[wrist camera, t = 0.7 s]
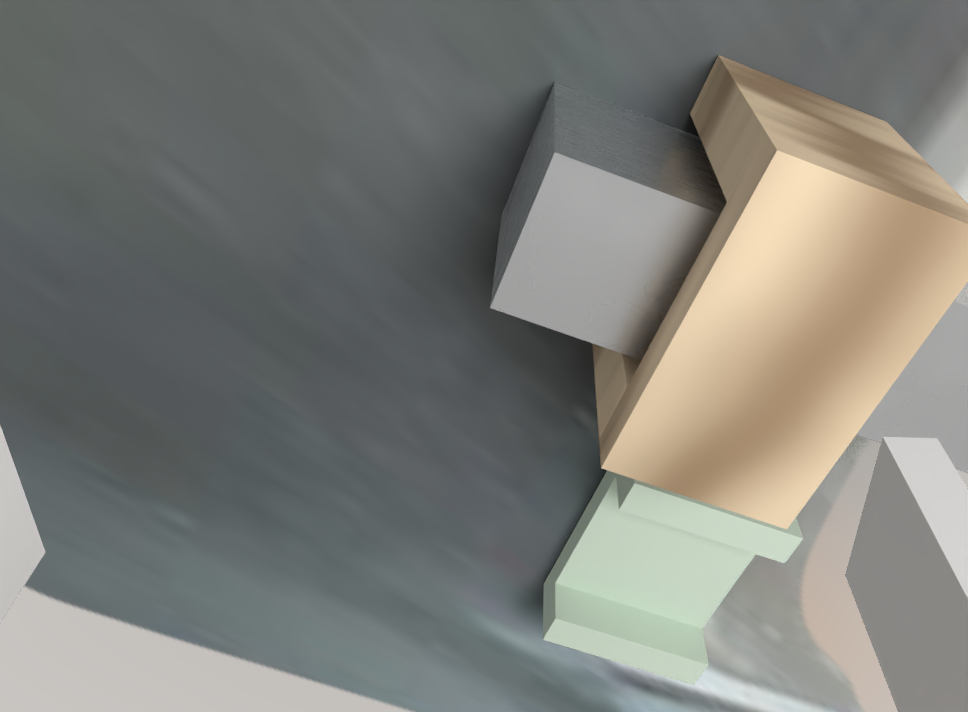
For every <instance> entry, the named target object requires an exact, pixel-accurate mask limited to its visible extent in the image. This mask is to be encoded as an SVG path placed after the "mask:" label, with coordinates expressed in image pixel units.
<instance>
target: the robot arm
mask: <svg viewBox="0 0 968 712" xmlns="http://www.w3.org/2000/svg"><path fill="white" fill-rule="evenodd" d="M44 554H45V549H44V547H43V544H42V541H41V538H40V535H39V533H38V530H37V527H36V524H35V521H34V519H33V516H32V513H31V510H30V507H29V504H28V502H27V499H26V496H25V493H24V490H23V488H22V485H21V482H20V479H19V476H18V474H17V471H16V468H15V465H14V462H13V460H12V457H11V454H10V451H9V448H8V445H7V443H6V440H5V437H4V434H3V431H2V429H1V426H0V623H1V621H2V620H3V618H4V617H5V615H6V613H7V611H8V610H9V609H10V607H11V606H12V604H13V602H14V601H15V599H16V598H17V596H18V595H19V593H20V591H21V590H22V588H23V587H24V585H25V584H26V582H27V581H28V579H29V577H30V576H31V574H32V573H33V571H34V570H35V568H36V566H37V565H38V563H39V562H40V560H41V559H42V557H43V555H44ZM845 575H846V578H847V580H848V583H849V586H850V588H851V591H852V594H853V596H854V598H855V601H856V604H857V606H858V609H859V612H860V614H861V617H862V619H863V622H864V624H865V627H866V630H867V632H868V635H869V638H870V640H871V643H872V645H873V648H874V650H875V653H876V655H877V658H878V660H879V663H880V666H881V668H882V671H883V673H884V676H885V679H886V681H887V684H888V687H889V689H890V692H891V695H892V697H893V700H894V702H895V705H896V707H897V710H898V712H968V488H967V487H966V485H965V483H964V482H963V480H962V478H961V477H960V475H959V473H958V472H957V470H956V468H955V467H954V465H953V463H952V462H951V460H950V458H949V457H948V455H947V453H946V452H945V450H944V449H943V447H942V445H941V444H940V442H939V440H938V439H937V438H912V437H883V438H882V442H881V446H880V450H879V453H878V457H877V460H876V464H875V468H874V471H873V475H872V479H871V482H870V486H869V490H868V493H867V497H866V501H865V505H864V508H863V512H862V516H861V519H860V523H859V527H858V530H857V534H856V538H855V541H854V545H853V549H852V553H851V556H850V560H849V563H848V567H847V571H846V574H845Z"/></svg>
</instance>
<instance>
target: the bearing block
mask: <svg viewBox="0 0 968 712" xmlns="http://www.w3.org/2000/svg"><path fill="white" fill-rule="evenodd" d="M690 115H691V117H692V120H693V122H694V124H695V127H696V129H697V132H698V134H699V136H700V139H701V141H702V144H703V146H704V148H705V151H706V153H707V156H708V158H709V160H710V163H711V165H712V167H713V170H714V172H715V175H716V177H717V179H718V182H719V184H720V187H721V189H722V191H723V194H724V196H725V199H726V201H727V203H726V205H725V207H724V209H723V211H722V213H721V214H720V216H719V218H718V220H717V222H716V224H715V226H714V227H713V229H712V231H711V233H710V235H709V237H708V239H707V240H706V242H705V244H704V246H703V248H702V250H701V251H700V253H699V255H698V257H697V259H696V261H695V263H694V264H693V266H692V268H691V270H690V272H689V274H688V276H687V277H686V279H685V281H684V283H683V285H682V287H681V288H680V290H679V292H678V294H677V296H676V298H675V300H674V301H673V303H672V305H671V307H670V309H669V311H668V313H667V314H666V316H665V318H664V320H663V322H662V324H661V326H660V327H659V329H658V331H657V333H656V335H655V337H654V338H653V340H652V342H651V344H650V346H649V348H648V350H647V351H646V353H645V355H644V357H643V359H642V360H639V359H636V358H633V357H630V356H628V355H625V354H622V353H619V352H616V351H613V350H610V349H607V348H604V347H602V346H599V345H596V344H593V343H592V345H593V360H594V374H595V388H596V402H597V417H598V431H599V445H600V460H601V468H602V469H605V470H608V471H611V472H614V473H617V474H620V475H623V476H626V477H629V478H632V479H635V480H638V481H641V482H644V483H647V484H650V485H653V486H656V487H660V488H663V489H666V490H669V491H672V492H675V493H678V494H681V495H684V496H687V497H690V498H693V499H696V500H699V501H702V502H705V503H708V504H711V505H714V506H717V507H720V508H723V509H726V510H729V511H732V512H735V513H738V514H741V515H744V516H747V517H751V518H754V519H757V520H760V521H763V522H766V523H769V524H772V525H775V526H778V527H781V528H784V529H788V527H789V526H790V525H791V523H792V522H793V520H794V519H795V518H796V516H797V515H798V514H799V512H800V511H801V509H802V508H803V507H804V505H805V504H806V503H807V501H808V500H809V499H810V497H811V496H812V494H813V493H814V492H815V490H816V489H817V488H818V486H819V485H820V483H821V482H822V481H823V479H824V478H825V477H826V475H827V474H828V472H829V471H830V470H831V468H832V467H833V466H834V464H835V463H836V461H837V460H838V459H839V457H840V456H841V455H842V453H843V452H844V451H845V449H846V448H847V446H848V445H849V444H850V442H851V441H852V440H853V438H854V437H855V435H856V434H857V433H858V431H859V430H860V429H861V427H862V426H863V424H864V423H865V422H866V420H867V419H868V418H869V416H870V415H871V414H872V412H873V411H874V409H875V408H876V407H877V405H878V404H879V403H880V401H881V400H882V398H883V397H884V396H885V394H886V393H887V392H888V390H889V389H890V387H891V386H892V385H893V383H894V382H895V381H896V379H897V378H898V376H899V375H900V374H901V372H902V371H903V370H904V368H905V367H906V366H907V364H908V363H909V361H910V360H911V359H912V357H913V356H914V355H915V353H916V352H917V350H918V349H919V348H920V346H921V345H922V344H923V342H924V341H925V339H926V338H927V337H928V335H929V334H930V333H931V331H932V330H933V329H934V327H935V326H936V324H937V323H938V322H939V320H940V319H941V318H942V316H943V315H944V313H945V312H946V311H947V309H948V308H949V307H950V305H951V304H952V302H953V301H954V300H955V298H956V297H957V296H958V294H959V293H960V291H961V290H962V289H963V287H964V286H965V285H966V283H967V282H968V203H967V202H966V201H965V200H964V199H963V198H962V197H961V196H960V195H959V194H958V193H957V192H956V191H955V190H954V189H953V188H952V187H951V186H950V185H949V184H948V183H947V182H946V181H945V180H944V179H943V178H942V177H941V176H940V175H939V174H938V173H937V172H936V171H935V170H934V169H933V168H932V167H931V166H930V165H929V164H928V163H927V162H926V161H925V160H924V159H923V158H922V157H921V156H920V155H919V154H918V153H917V152H916V151H915V150H914V149H913V148H912V147H911V146H910V145H909V144H908V143H907V142H906V141H905V140H904V139H903V138H902V137H901V136H900V135H899V134H898V133H897V132H896V131H895V130H894V129H893V128H892V127H891V126H890V125H889V124H888V123H887V122H886V121H883V120H881V119H878V118H876V117H873V116H870V115H868V114H865V113H863V112H860V111H858V110H855V109H853V108H850V107H848V106H845V105H843V104H840V103H838V102H835V101H833V100H830V99H828V98H825V97H823V96H820V95H818V94H815V93H813V92H810V91H808V90H805V89H803V88H800V87H798V86H795V85H793V84H790V83H788V82H785V81H783V80H780V79H777V78H775V77H772V76H770V75H767V74H765V73H762V72H760V71H757V70H755V69H752V68H750V67H747V66H745V65H742V64H740V63H737V62H735V61H732V60H730V59H727V58H725V57H722V56H720V55H718V57H717V59H716V61H715V63H714V65H713V67H712V69H711V71H710V74H709V76H708V78H707V80H706V82H705V84H704V86H703V88H702V90H701V92H700V94H699V96H698V98H697V100H696V102H695V104H694V106H693V108H692V110H691V112H690Z"/></svg>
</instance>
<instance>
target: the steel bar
mask: <svg viewBox="0 0 968 712" xmlns="http://www.w3.org/2000/svg"><path fill="white" fill-rule="evenodd" d="M726 203H727V201H726V199H725V196H724V194H723V191H722V189H721V187H720V184H719V182H718V179H717V177H716V175H715V172H714V170H713V167H712V165H711V163H710V160H709V158H708V156H707V153H706V151H705V148H704V146H703V144H702V141H701V139H700V137H699V136H696V135H693V134H691V133H688V132H686V131H683V130H680V129H678V128H675V127H673V126H670V125H667V124H665V123H662V122H659V121H657V120H654V119H652V118H649V117H646V116H644V115H641V114H638V113H636V112H633V111H631V110H628V109H625V108H623V107H620V106H618V105H615V104H612V103H610V102H607V101H604V100H602V99H599V98H597V97H594V96H591V95H589V94H586V93H584V92H581V91H578V90H576V89H573V88H570V87H568V86H565V85H563V84H560V83H557V82H554V85H553V87H552V90H551V92H550V95H549V97H548V100H547V102H546V105H545V107H544V110H543V112H542V115H541V117H540V120H539V122H538V125H537V127H536V130H535V132H534V135H533V137H532V140H531V142H530V145H529V147H528V150H527V152H526V155H525V157H524V160H523V162H522V165H521V167H520V170H519V172H518V175H517V178H516V180H515V183H514V185H513V188H512V190H511V193H510V195H509V198H508V200H507V203H506V205H505V208H504V210H503V213H502V215H501V223H500V232H499V240H498V248H497V256H496V264H495V272H494V280H493V288H492V296H491V304H490V308H492V309H495V310H497V311H500V312H503V313H506V314H509V315H512V316H515V317H518V318H521V319H523V320H526V321H529V322H532V323H535V324H538V325H541V326H544V327H547V328H549V329H552V330H555V331H558V332H561V333H564V334H567V335H570V336H573V337H575V338H578V339H581V340H584V341H587V342H590V343H593V344H596V345H599V346H602V347H604V348H607V349H610V350H613V351H616V352H619V353H622V354H625V355H628V356H630V357H633V358H636V359H639V360H642V359H643V357H644V355H645V353H646V351H647V350H648V348H649V346H650V344H651V342H652V340H653V338H654V337H655V335H656V333H657V331H658V329H659V327H660V326H661V324H662V322H663V320H664V318H665V316H666V314H667V313H668V311H669V309H670V307H671V305H672V303H673V301H674V300H675V298H676V296H677V294H678V292H679V290H680V288H681V287H682V285H683V283H684V281H685V279H686V277H687V276H688V274H689V272H690V270H691V268H692V266H693V264H694V263H695V261H696V259H697V257H698V255H699V253H700V251H701V250H702V248H703V246H704V244H705V242H706V240H707V239H708V237H709V235H710V233H711V231H712V229H713V227H714V226H715V224H716V222H717V220H718V218H719V216H720V214H721V213H722V211H723V209H724V207H725V205H726ZM856 435H859V436H862V437H865V438H867V439H870V440H873V441H876V442H879V443H881V442H882V438H883V437H912V438H937V439H938V440H939V442H940V444H941V445H942V447H943V449H944V450H945V452H946V453H947V455H948V457H949V458H950V460H951V462H952V463H953V465H954V467H955V468H956V469H957V470H960V471H963V472H966V473H968V282H967V283H966V285H965V286H964V287H963V289H962V290H961V291H960V293H959V294H958V296H957V297H956V298H955V300H954V301H953V302H952V304H951V305H950V307H949V308H948V309H947V311H946V312H945V313H944V315H943V316H942V318H941V319H940V320H939V322H938V323H937V324H936V326H935V327H934V329H933V330H932V331H931V333H930V334H929V335H928V337H927V338H926V339H925V341H924V342H923V344H922V345H921V346H920V348H919V349H918V350H917V352H916V353H915V355H914V356H913V357H912V359H911V360H910V361H909V363H908V364H907V366H906V367H905V368H904V370H903V371H902V372H901V374H900V375H899V376H898V378H897V379H896V381H895V382H894V383H893V385H892V386H891V387H890V389H889V390H888V392H887V393H886V394H885V396H884V397H883V398H882V400H881V401H880V403H879V404H878V405H877V407H876V408H875V409H874V411H873V412H872V414H871V415H870V416H869V418H868V419H867V420H866V422H865V423H864V424H863V426H862V427H861V429H860V430H859V431H858V433H857V434H856Z"/></svg>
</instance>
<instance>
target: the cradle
mask: <svg viewBox="0 0 968 712" xmlns="http://www.w3.org/2000/svg"><path fill="white" fill-rule="evenodd" d="M802 539H803V537H802V534H801V531H800V528H799V525H798V522H797V519H796V518H795V519H794V520H793V522H792V523H791V525H790V526H789V527H788V529H784V528H781V527H778V526H775V525H772V524H769V523H766V522H763V521H760V520H757V519H754V518H751V517H747V516H744V515H741V514H738V513H735V512H732V511H729V510H726V509H723V508H720V507H717V506H714V505H711V504H708V503H705V502H702V501H699V500H696V499H693V498H690V497H687V496H684V495H681V494H678V493H675V492H672V491H669V490H666V489H663V488H660V487H656V486H653V485H650V484H647V483H644V482H641V481H638V480H635V479H632V478H629V477H626V476H623V475H620V474H617V473H614V472H611V471H608V470H607V472H606V473H605V475H604V477H603V479H602V481H601V482H600V484H599V486H598V488H597V490H596V491H595V493H594V495H593V497H592V499H591V500H590V502H589V504H588V506H587V507H586V509H585V511H584V513H583V515H582V516H581V518H580V520H579V522H578V524H577V525H576V527H575V529H574V531H573V532H572V534H571V536H570V538H569V540H568V541H567V543H566V545H565V547H564V549H563V550H562V552H561V554H560V556H559V558H558V559H557V561H556V563H555V565H554V566H553V568H552V570H551V572H550V574H549V575H548V577H547V579H546V581H545V583H544V596H543V640H546V641H549V642H553V643H556V644H559V645H563V646H566V647H569V648H572V649H576V650H579V651H582V652H586V653H589V654H592V655H596V656H599V657H602V658H606V659H609V660H612V661H616V662H619V663H622V664H626V665H629V666H632V667H636V668H639V669H642V670H645V671H649V672H652V673H655V674H659V675H662V676H665V677H669V678H672V679H675V680H679V681H682V682H685V683H689V684H692V685H694V684H695V682H696V681H697V680H698V678H699V677H700V676H701V674H702V673H703V672H704V670H705V669H706V668H707V666H708V659H707V653H706V648H705V642H704V636H703V631H702V628H703V627H704V625H705V624H706V622H707V621H708V620H709V618H710V617H711V616H712V614H713V613H714V611H715V610H716V609H717V607H718V606H719V604H720V603H721V602H722V600H723V599H724V597H725V596H726V595H727V593H728V592H729V590H730V589H731V588H732V586H733V585H734V583H735V582H736V581H737V579H738V578H739V577H740V575H741V574H742V572H743V571H744V570H745V568H746V567H747V565H748V564H749V563H750V561H751V560H752V558H753V557H754V556H755V554H757V555H760V556H763V557H766V558H769V559H773V560H776V561H779V562H782V563H785V562H786V561H787V559H788V558H789V557H790V555H791V554H792V553H793V551H794V550H795V549H796V547H797V546H798V545H799V543H800V542H801V541H802Z"/></svg>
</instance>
